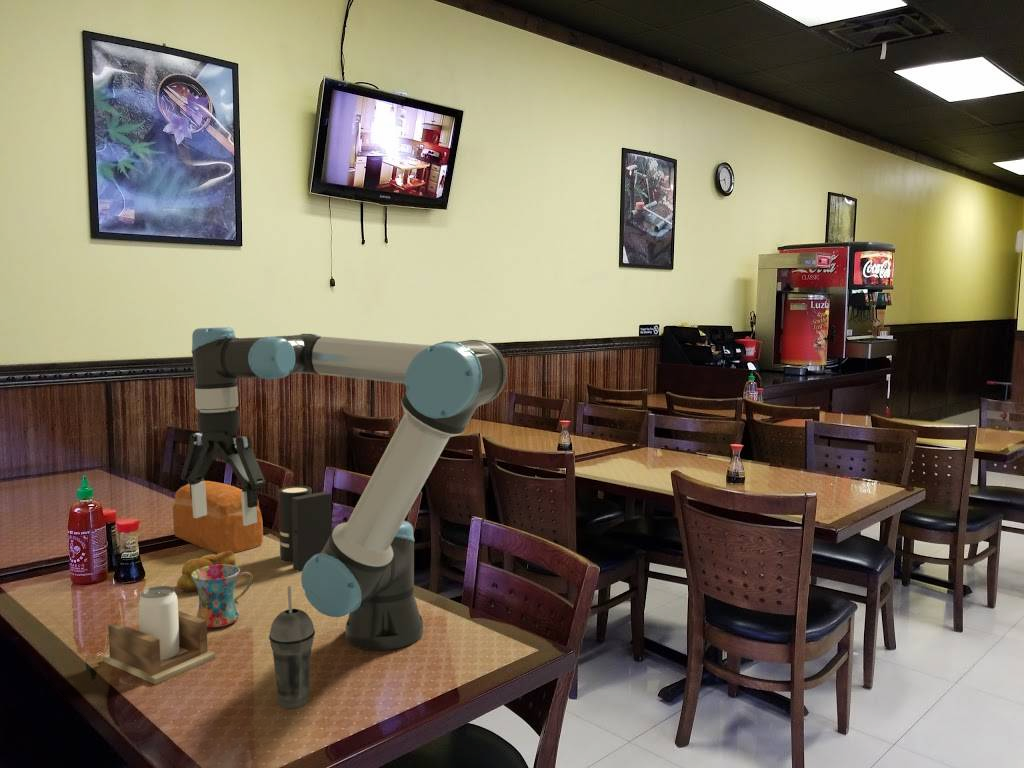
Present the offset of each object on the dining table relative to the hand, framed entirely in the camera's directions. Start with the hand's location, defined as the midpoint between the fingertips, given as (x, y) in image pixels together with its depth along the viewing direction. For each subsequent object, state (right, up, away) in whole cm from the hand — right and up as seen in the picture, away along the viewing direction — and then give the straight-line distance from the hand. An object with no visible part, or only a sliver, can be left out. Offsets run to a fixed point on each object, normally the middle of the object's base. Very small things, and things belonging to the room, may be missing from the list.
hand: (224, 520), depth 150 cm
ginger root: (-16, -21, +31) cm, 41 cm away
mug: (-4, -23, +12) cm, 26 cm away
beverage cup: (+19, -27, -20) cm, 38 cm away
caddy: (-10, -25, -6) cm, 27 cm away
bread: (-25, -17, +65) cm, 72 cm away
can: (-9, -24, -6) cm, 26 cm away
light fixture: (+2, -19, +49) cm, 53 cm away
